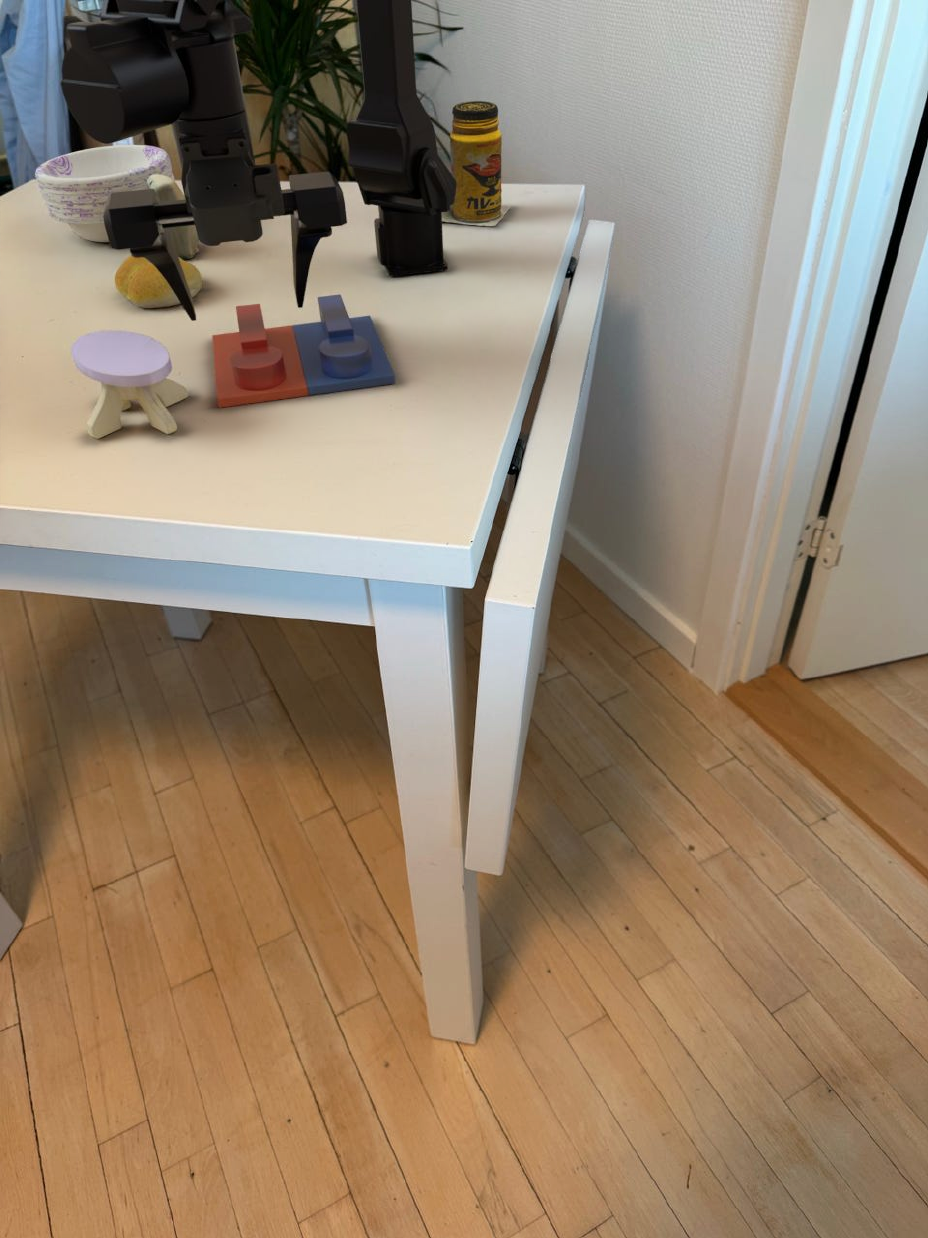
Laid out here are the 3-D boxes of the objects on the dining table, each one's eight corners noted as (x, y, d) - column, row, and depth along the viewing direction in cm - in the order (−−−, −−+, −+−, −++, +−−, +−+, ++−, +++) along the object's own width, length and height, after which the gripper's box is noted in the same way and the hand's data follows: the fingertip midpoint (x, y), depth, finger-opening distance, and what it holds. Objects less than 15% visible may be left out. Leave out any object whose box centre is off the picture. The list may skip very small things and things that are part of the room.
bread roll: (146, 317, 87) (135, 277, 84) (109, 292, 92) (97, 253, 90) (220, 294, 91) (211, 255, 88) (180, 271, 96) (171, 233, 93)
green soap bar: (145, 255, 100) (125, 180, 95) (179, 241, 103) (161, 167, 98) (181, 263, 98) (163, 187, 92) (214, 248, 101) (198, 174, 96)
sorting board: (370, 323, 85) (370, 315, 84) (395, 383, 75) (394, 374, 75) (213, 342, 82) (212, 334, 82) (218, 407, 73) (216, 399, 72)
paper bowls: (52, 221, 110) (29, 152, 105) (174, 203, 114) (158, 136, 109) (61, 261, 99) (36, 186, 94) (195, 239, 104) (178, 166, 98)
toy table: (66, 411, 73) (42, 346, 69) (167, 378, 77) (150, 315, 73) (109, 459, 67) (86, 390, 63) (216, 420, 71) (200, 354, 67)
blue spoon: (309, 325, 83) (305, 297, 81) (355, 319, 84) (352, 292, 82) (325, 381, 74) (321, 352, 72) (376, 374, 75) (373, 346, 73)
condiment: (495, 227, 104) (495, 113, 96) (428, 221, 106) (422, 110, 98) (511, 208, 109) (512, 98, 101) (447, 203, 111) (443, 95, 103)
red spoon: (229, 334, 82) (223, 307, 80) (276, 328, 82) (271, 301, 81) (236, 393, 73) (229, 364, 71) (288, 386, 74) (283, 357, 72)
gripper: (70, 150, 59) (135, 366, 69) (344, 125, 62) (367, 336, 72) (83, 112, 67) (139, 311, 77) (325, 92, 70) (347, 286, 80)
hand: (247, 312), depth 77 cm, fingers open, 9 cm apart
